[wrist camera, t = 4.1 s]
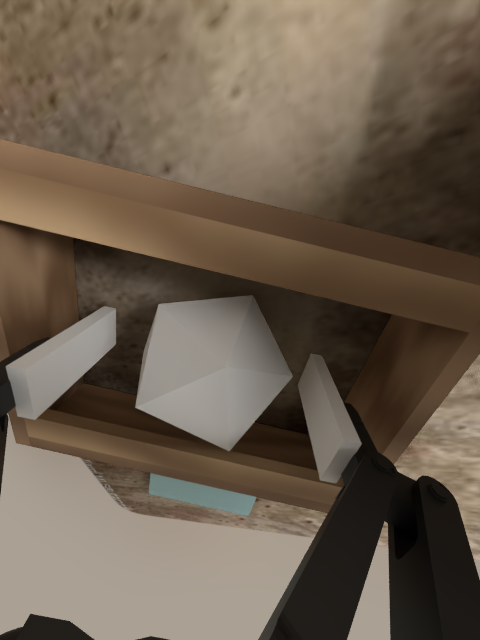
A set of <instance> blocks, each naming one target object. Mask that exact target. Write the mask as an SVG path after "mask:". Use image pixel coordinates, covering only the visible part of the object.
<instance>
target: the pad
mask: <svg viewBox="0 0 480 640" xmlns="http://www.w3.org/2000/svg"><path fill="white" fill-rule="evenodd" d="M149 494H151V495H155V496H160V497H164V498H168V499H173V500H177V501H182V502H186V503H191V504H195V505H200V506H204V507H209V508H213V509H218V510H222V511H227V512H231V513H235V514H240V515H244V516H249V514H250V512H251V509H252V507H253V505H254V502H255V500H256V498H257V497H254V496H250V495H245V494H241V493H236V492H232V491H227V490H223V489H218V488H214V487H210V486H205V485H201V484H196V483H192V482H187V481H183V480H179V479H174V478H170V477H165V476H161V475H156V474H152V473H151V474H150V485H149Z"/></svg>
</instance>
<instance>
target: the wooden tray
mask: <svg viewBox="0 0 480 640" xmlns="http://www.w3.org/2000/svg"><path fill="white" fill-rule="evenodd" d="M73 237H74V238H78V239H82V240H86V241H90V242H94V243H98V244H103V245H107V246H111V247H115V248H119V249H123V250H128V251H132V252H136V253H140V254H144V255H148V256H153V257H157V258H161V259H165V260H169V261H173V262H177V263H182V264H186V265H190V266H194V267H198V268H202V269H207V270H211V271H215V272H219V273H223V274H227V275H231V276H236V277H240V278H244V279H248V280H252V281H256V282H261V283H265V284H269V285H273V286H277V287H281V288H285V289H290V290H294V291H298V292H302V293H306V294H310V295H315V296H319V297H323V298H327V299H331V300H335V301H339V302H344V303H348V304H352V305H356V306H360V307H364V308H369V309H373V310H377V311H381V312H385V313H389V314H392V315H391V317H390V319H389V321H388V322H387V324H386V326H385V328H384V330H383V332H382V333H381V335H380V337H379V339H378V341H377V343H376V345H375V346H374V348H373V350H372V352H371V354H370V356H369V357H368V359H367V361H366V363H365V365H364V367H363V368H362V370H361V372H360V374H359V376H358V378H357V380H356V381H355V383H354V385H353V387H352V389H351V391H350V392H349V394H348V396H347V398H346V400H345V403H349V404H351V405H352V406H353V407H354V408H355V409H356V410H357V412H358V413H359V415H360V417H361V419H362V421H363V423H364V425H365V428H366V429H367V431H368V433H369V435H370V437H371V439H372V441H373V443H374V445H375V447H376V449H377V451H378V452H379V453H381V454H382V455H384V456H386V457H387V458H388V459H389V460H390V461H391V462H392V463H393V465H394V463H395V462H396V461H397V460H398V458H399V457H400V456H401V454H402V453H403V452H404V450H405V449H406V448H407V447H408V445H409V444H410V443H411V441H412V440H413V439H414V438H415V436H416V435H417V434H418V432H419V431H420V430H421V429H422V427H423V426H424V425H425V423H426V422H427V421H428V420H429V418H430V417H431V416H432V414H433V413H434V412H435V411H436V409H437V408H438V407H439V405H440V404H441V403H442V402H443V400H444V399H445V398H446V396H447V395H448V394H449V393H450V391H451V390H452V389H453V387H454V386H455V385H456V384H457V382H458V381H459V380H460V378H461V377H462V376H463V374H464V373H465V372H466V371H467V369H468V368H469V367H470V365H471V364H472V363H473V362H474V360H475V359H476V358H477V356H478V355H479V354H480V257H476V256H472V255H468V254H464V253H460V252H456V251H452V250H448V249H444V248H440V247H436V246H432V245H428V244H424V243H420V242H416V241H412V240H407V239H403V238H399V237H395V236H391V235H387V234H383V233H379V232H375V231H371V230H367V229H363V228H359V227H355V226H351V225H347V224H343V223H338V222H334V221H330V220H326V219H322V218H318V217H314V216H310V215H306V214H302V213H298V212H294V211H290V210H286V209H282V208H278V207H274V206H269V205H265V204H261V203H257V202H253V201H249V200H245V199H241V198H237V197H233V196H229V195H225V194H221V193H217V192H213V191H209V190H205V189H200V188H196V187H192V186H188V185H184V184H180V183H176V182H172V181H168V180H164V179H160V178H156V177H152V176H148V175H144V174H140V173H136V172H131V171H127V170H123V169H119V168H115V167H111V166H107V165H103V164H99V163H95V162H91V161H87V160H83V159H79V158H75V157H71V156H66V155H62V154H58V153H54V152H50V151H46V150H42V149H38V148H34V147H30V146H26V145H22V144H18V143H14V142H10V141H6V140H2V139H0V361H2V360H4V359H5V358H7V357H9V356H11V355H12V354H14V353H16V352H18V351H19V350H21V349H23V348H26V346H28V345H30V344H31V343H33V342H35V341H37V340H40V339H43V338H46V337H50V338H53V337H54V336H56V335H58V334H59V333H61V332H63V331H64V330H66V329H68V328H69V327H71V326H72V325H74V324H76V323H77V322H79V312H78V299H77V286H76V272H75V259H74V246H73ZM136 399H137V395H133V394H129V393H124V392H120V391H116V390H111V389H107V388H103V387H98V386H94V385H90V384H85V383H84V378H83V376H82V377H81V378H79V379H78V380H77V381H76V382H75V383H74V384H73V385H72V386H71V387H70V388H69V389H68V390H67V391H66V392H64V393H63V394H62V395H61V396H60V397H59V398H58V399H57V400H56V401H55V402H54V403H53V404H52V405H51V406H49V407H48V408H47V409H46V410H45V411H44V412H43V413H42V414H41V415H40V416H39V417H38V418H37V419H36V420H33V419H28V418H23V417H18V416H17V412H16V407H14V408H13V409H12V410H10V411H9V412H8V414H9V417H10V421H11V425H12V429H13V432H14V436H15V440H16V443H19V444H24V445H28V446H32V447H37V448H41V449H46V450H50V451H54V452H59V453H63V454H68V455H72V456H77V457H81V458H85V459H90V460H94V461H99V462H103V463H108V464H112V465H116V466H121V467H125V468H130V469H134V470H139V471H143V472H147V473H152V474H156V475H161V476H165V477H170V478H174V479H179V480H183V481H187V482H192V483H196V484H201V485H205V486H210V487H214V488H218V489H223V490H227V491H232V492H236V493H241V494H245V495H250V496H254V497H258V498H263V499H267V500H272V501H276V502H281V503H285V504H289V505H294V506H298V507H303V508H307V509H312V510H316V511H321V512H325V513H329V511H330V509H331V507H332V505H333V503H334V502H335V500H336V499H335V498H336V496H337V495H338V493H339V492H340V490H341V489H342V487H343V486H344V482H343V479H342V476H341V477H340V478H339V480H338V481H337V483H336V484H335V483H331V482H326V481H321V480H320V478H319V473H318V469H317V465H316V461H315V456H314V452H313V448H312V444H311V439H310V435H307V434H302V433H298V432H294V431H289V430H285V429H281V428H276V427H272V426H268V425H263V424H259V423H253V424H252V425H251V427H250V428H249V429H248V430H247V431H246V432H245V434H244V435H243V436H242V437H241V438H240V439H239V441H238V442H237V443H236V444H235V445H234V446H233V448H232V449H231V450H230V451H228V450H225V449H223V448H221V447H219V446H217V445H215V444H213V443H210V442H208V441H206V440H204V439H202V438H200V437H198V436H195V435H193V434H191V433H189V432H187V431H185V430H182V429H180V428H178V427H176V426H174V425H172V424H170V423H167V422H165V421H163V420H161V419H159V418H157V417H155V416H152V415H150V414H148V413H146V412H144V411H142V410H140V409H137V408H135V406H136Z"/></svg>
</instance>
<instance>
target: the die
mask: <svg viewBox="0 0 480 640" xmlns="http://www.w3.org/2000/svg"><path fill="white" fill-rule="evenodd" d="M292 377H293V375H292V373H291V371H290V369H289V367H288V365H287V363H286V361H285V359H284V357H283V355H282V353H281V351H280V349H279V347H278V344H277V342H276V340H275V338H274V336H273V334H272V332H271V330H270V328H269V326H268V324H267V322H266V320H265V318H264V316H263V314H262V312H261V310H260V308H259V306H258V304H257V302H256V300H255V298H254V296H253V295H248V296H237V297H227V298H216V299H206V300H195V301H184V302H174V303H163V304H159V305H158V308H157V311H156V315H155V318H154V321H153V324H152V327H151V330H150V333H149V337H148V340H147V343H146V346H145V349H144V352H143V359H142V366H141V372H140V379H139V386H138V392H137V399H136V406H135V408H137V409H140V410H142V411H144V412H146V413H148V414H150V415H152V416H155V417H157V418H159V419H161V420H163V421H165V422H167V423H170V424H172V425H174V426H176V427H178V428H180V429H182V430H185V431H187V432H189V433H191V434H193V435H195V436H198V437H200V438H202V439H204V440H206V441H208V442H210V443H213V444H215V445H217V446H219V447H221V448H223V449H225V450H228V451H230V450H231V449H232V448H233V446H234V445H235V444H236V443H237V442H238V441H239V439H240V438H241V437H242V436H243V435H244V434H245V432H246V431H247V430H248V429H249V428H250V427H251V425H252V424H253V423H254V422H255V421H256V420H257V418H258V417H259V416H260V415H261V414H262V413H263V411H264V410H265V409H266V408H267V407H268V405H269V404H270V403H271V402H272V401H273V400H274V398H275V397H276V396H277V395H278V394H279V393H280V391H281V390H282V389H283V388H284V387H285V386H286V384H287V383H288V382H289V381H290V380H291V379H292Z"/></svg>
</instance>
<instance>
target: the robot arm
mask: <svg viewBox="0 0 480 640" xmlns="http://www.w3.org/2000/svg"><path fill="white" fill-rule="evenodd" d="M115 345H116V309H115V308H111V307H106V306H104V307H102V308H100V309H99V310H97V311H95V312H94V313H92V314H90V315H89V316H87V317H86V318H84V319H82V320H81V321H79V322H77V323H76V324H74V325H72V326H71V327H69V328H68V329H66V330H64V331H63V332H61V333H59V334H58V335H56V336H54V337H53V338H50V337H46V338H43V339H40V340H37V341H35V342H33V343H31V344H30V345H28V346H26V348H23V349H21V350H19V351H18V352H16V353H14V354H12V355H11V356H9V357H7V358H5V359H4V360H2V361H0V493H1V483H2V474H3V465H4V455H5V446H6V437H7V427H8V415H7V413H8V412H9V411H10V410H12V409H13V408H14V407H16V412H17V416H18V417H23V418H28V419H33V420H36V419H37V418H38V417H39V416H40V415H41V414H42V413H43V412H44V411H45V410H46V409H47V408H48V407H49V406H51V405H52V404H53V403H54V402H55V401H56V400H57V399H58V398H59V397H60V396H61V395H62V394H63V393H64V392H66V391H67V390H68V389H69V388H70V387H71V386H72V385H73V384H74V383H75V382H76V381H77V380H78V379H79V378H81V377H82V376H83V375H84V374H85V373H86V372H87V371H88V370H89V369H90V368H91V367H92V366H93V365H94V364H96V363H97V362H98V361H99V360H100V359H101V358H102V357H103V356H104V355H105V354H106V353H107V352H108V351H109V350H111V349H112V348H113V347H114V346H115ZM298 388H299V393H300V397H301V401H302V405H303V410H304V414H305V418H306V422H307V427H308V431H309V435H310V439H311V444H312V448H313V452H314V456H315V461H316V465H317V469H318V473H319V478H320V480H321V481H326V482H331V483H335V484H336V483H337V481H338V480H339V478H340V477H341V476H342V479H343V482H344V486H343V487H342V489H341V490H340V492H339V493H338V495H337V496H336V498H335V499H336V500H335V502H334V503H333V505H332V507H331V509H330V511H329V513H328V514H327V516H326V518H325V520H324V522H323V523H322V525H321V527H320V529H319V531H318V532H317V534H316V536H315V538H314V540H313V541H312V543H311V545H310V547H309V549H308V551H307V552H306V554H305V556H304V558H303V560H302V561H301V563H300V565H299V567H298V569H297V570H296V572H295V574H294V576H293V578H292V579H291V581H290V583H289V585H288V587H287V589H286V591H285V592H284V594H283V596H282V598H281V599H280V601H279V603H278V605H277V607H276V608H275V610H274V612H273V614H272V616H271V618H270V619H269V621H268V623H267V625H266V626H265V628H264V630H263V632H262V634H261V636H260V638H259V639H258V640H347V637H348V634H349V631H350V628H351V625H352V622H353V618H354V615H355V612H356V609H357V606H358V603H359V600H360V596H361V593H362V590H363V587H364V584H365V580H366V577H367V574H368V571H369V568H370V565H371V562H372V558H373V555H374V552H375V549H376V546H377V543H378V540H379V537H380V533H381V530H382V527H383V524H384V521H385V522H387V523H388V547H389V590H390V634H391V640H480V580H479V576H478V573H477V569H476V566H475V563H474V559H473V556H472V552H471V549H470V545H469V542H468V538H467V535H466V532H465V528H464V525H463V521H462V518H461V514H460V511H459V507H458V504H457V502H456V500H455V498H454V496H453V495H452V494H451V492H450V491H449V490H448V489H447V488H446V487H445V486H444V485H443V484H441V483H440V482H438V481H437V480H435V479H434V478H431V477H429V476H421V477H419V479H418V480H417V481H415V480H413V479H411V478H409V477H407V476H405V475H403V474H401V473H399V472H397V469H396V467H395V466H394V465H393V463H392V462H391V461H390V460H389V459H388V458H387V457H386V456H384V455H382V454H381V453H379V452H378V451H377V449H376V447H375V445H374V443H373V441H372V439H371V437H370V435H369V433H368V431H367V429H366V428H365V425H364V423H363V421H362V419H361V417H360V415H359V413H358V412H357V410H356V409H355V408H354V407H353V406H352V405H351V404H349V403H345V402H343V401H342V399H341V397H340V395H339V392H338V390H337V388H336V386H335V383H334V381H333V379H332V377H331V375H330V372H329V370H328V368H327V366H326V364H325V361H324V359H323V357H322V356H321V355H316V354H312V353H311V354H310V357H309V359H308V361H307V364H306V366H305V369H304V371H303V374H302V376H301V378H300V381H299V383H298ZM0 640H94V639H93V638H91V637H90V636H89V635H87V634H86V633H85V632H83V631H82V630H81V629H79V628H78V627H77V626H75V625H74V624H73V623H71V622H70V621H66V620H60V619H55V618H49V617H44V616H38V615H33V614H30V616H29V617H28V619H27V621H26V623H25V624H24V626H23V627H20V628H17V629H14V630H11V631H8V632H6V633H4V634H2V635H0ZM137 640H168V639H163V638H157V637H152V636H151V637H146V638H142V639H137Z"/></svg>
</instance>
